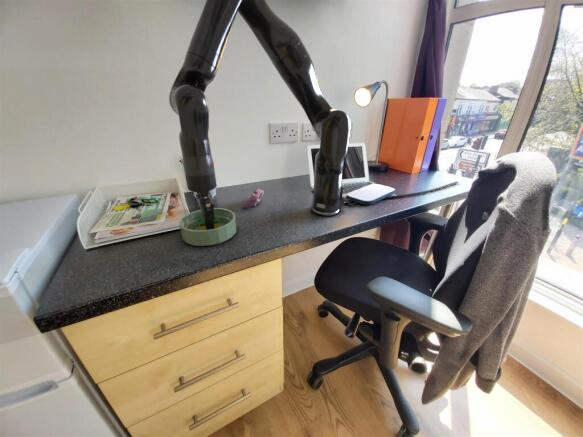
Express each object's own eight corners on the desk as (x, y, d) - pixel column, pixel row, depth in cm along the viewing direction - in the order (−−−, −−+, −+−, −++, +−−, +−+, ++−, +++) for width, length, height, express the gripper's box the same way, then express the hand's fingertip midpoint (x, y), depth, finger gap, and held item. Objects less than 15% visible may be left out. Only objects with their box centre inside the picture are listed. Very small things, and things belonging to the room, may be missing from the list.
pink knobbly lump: (252, 213, 86) (259, 198, 83) (241, 207, 86) (248, 191, 83) (260, 203, 95) (267, 189, 92) (251, 197, 95) (257, 183, 92)
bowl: (230, 218, 79) (228, 204, 77) (242, 239, 67) (241, 224, 64) (180, 228, 73) (177, 213, 70) (184, 253, 60) (181, 236, 58)
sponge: (216, 224, 73) (215, 215, 71) (219, 229, 69) (218, 220, 68) (199, 227, 71) (198, 218, 69) (201, 233, 67) (199, 224, 66)
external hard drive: (373, 187, 110) (374, 182, 109) (397, 193, 102) (398, 188, 101) (342, 199, 96) (343, 194, 95) (367, 207, 88) (368, 202, 87)
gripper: (219, 176, 58) (227, 236, 66) (209, 164, 70) (217, 216, 77) (187, 180, 55) (199, 242, 63) (182, 166, 67) (193, 221, 74)
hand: (209, 227), depth 70 cm, fingers closed on sponge, 4 cm apart
